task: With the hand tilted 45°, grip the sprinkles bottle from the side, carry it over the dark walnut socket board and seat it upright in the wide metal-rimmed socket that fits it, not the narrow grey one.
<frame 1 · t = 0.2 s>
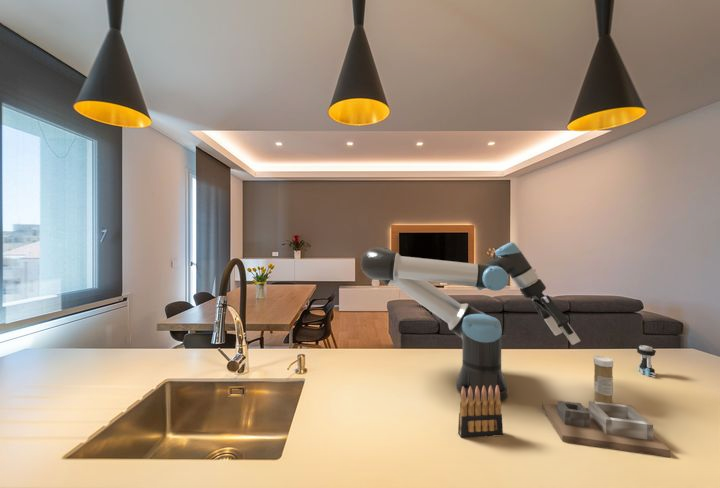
hand: (567, 338, 106), 16 cm above the countertop, fingers open, 13 cm apart
sprinkles bottle: (603, 404, 93), on the countertop
ammunition clip: (480, 435, 78), on the countertop
socket board: (597, 429, 80), on the countertop
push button: (647, 375, 115), on the countertop
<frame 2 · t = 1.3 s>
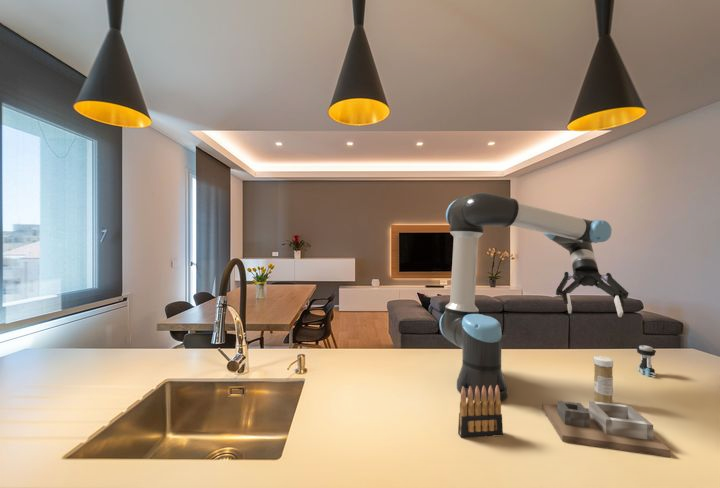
hand: (594, 313, 103), 25 cm above the countertop, fingers open, 13 cm apart
nothing on the countertop moved.
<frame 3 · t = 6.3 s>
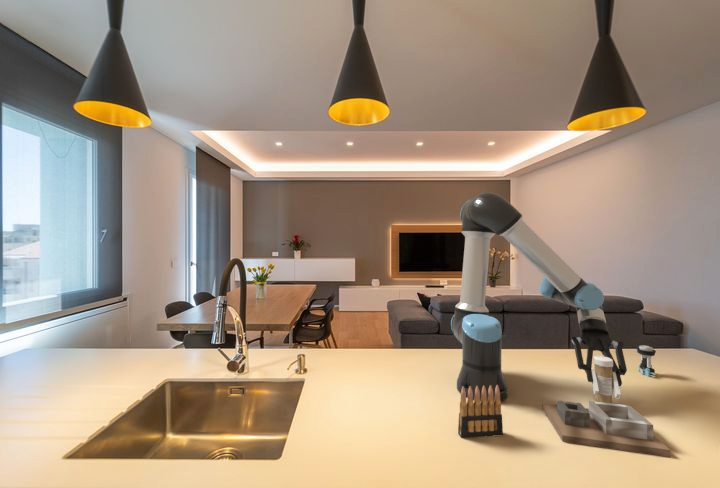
hand: (607, 394, 90), 4 cm above the countertop, fingers closed on sprinkles bottle, 4 cm apart
sprinkles bottle: (603, 404, 93), on the countertop, touching gripper
everything else where it was.
when the fingers open (7 cm above the countertop, at t = 11.6 s): sprinkles bottle drops 1 cm, resting on socket board.
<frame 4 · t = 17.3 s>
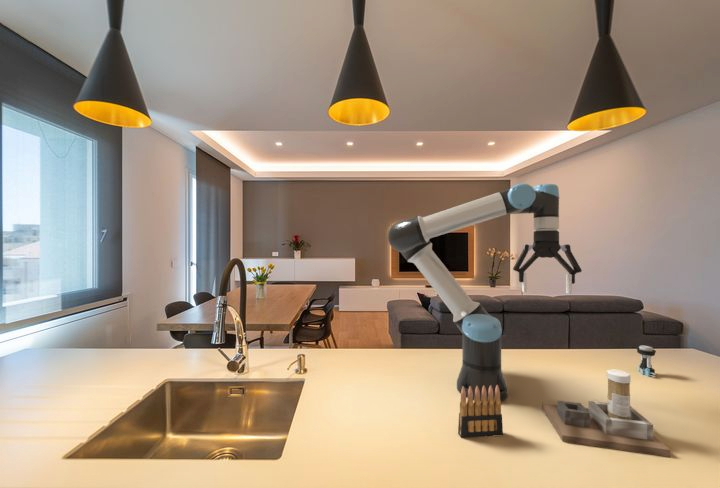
hand: (546, 292, 108), 31 cm above the countertop, fingers open, 13 cm apart
sprinkles bottle: (618, 426, 79), point 1 cm above the countertop, touching socket board
everything else where it was.
at the end: sprinkles bottle 0.1 cm from the target spot on the socket board, point 1.3 cm above the socket board's base; sprinkles bottle tilted 0°; the gripper is holding nothing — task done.
